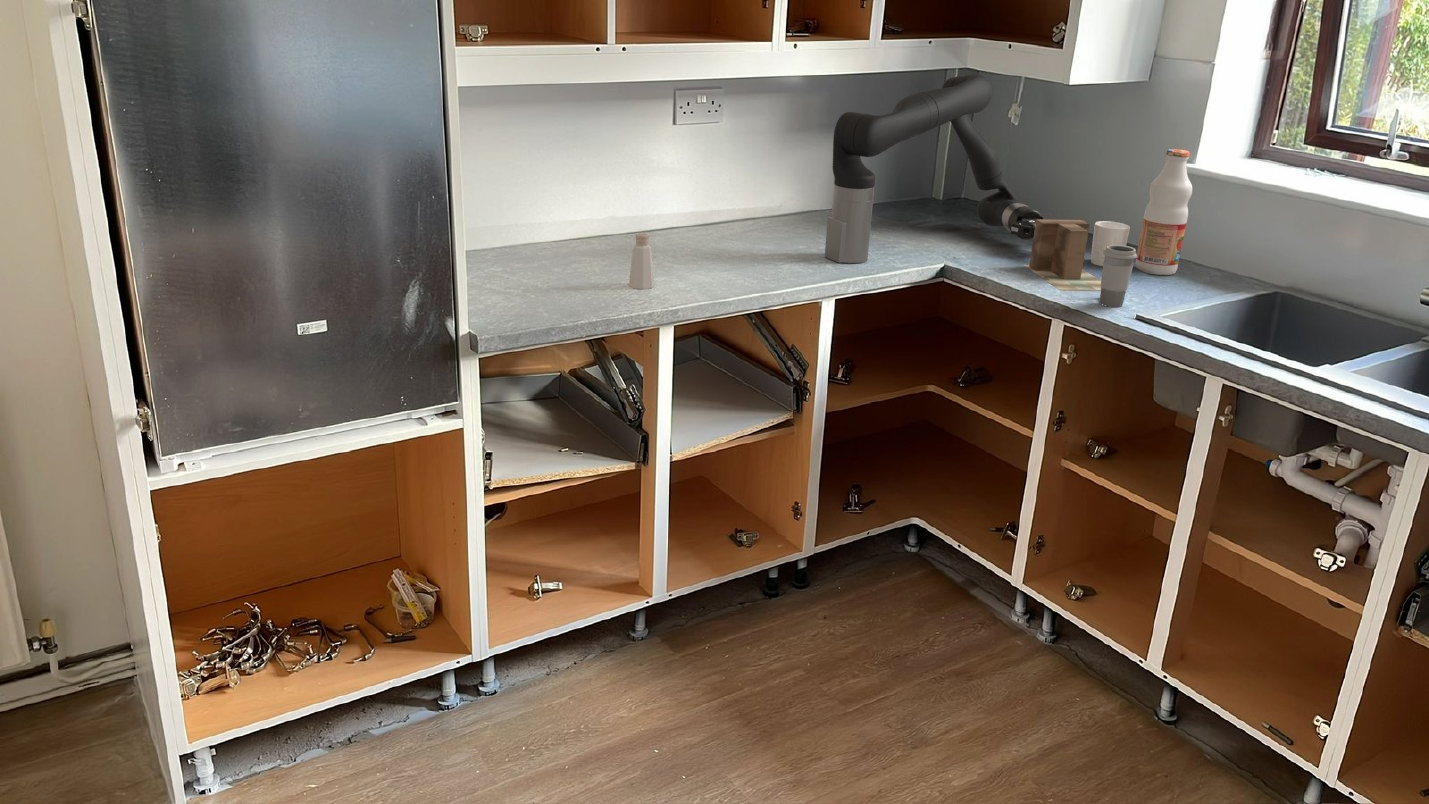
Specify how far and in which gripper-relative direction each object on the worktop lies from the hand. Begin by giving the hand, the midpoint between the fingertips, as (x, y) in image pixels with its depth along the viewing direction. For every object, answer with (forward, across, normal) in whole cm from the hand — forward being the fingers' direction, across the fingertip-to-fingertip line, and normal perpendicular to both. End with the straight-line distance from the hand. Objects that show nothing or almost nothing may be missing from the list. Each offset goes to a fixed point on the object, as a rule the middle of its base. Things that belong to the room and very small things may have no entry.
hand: (1050, 237), depth 255 cm
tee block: (+8, 0, +6) cm, 10 cm away
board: (+12, 0, +7) cm, 14 cm away
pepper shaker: (+17, -96, +7) cm, 98 cm away
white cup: (-1, +15, +7) cm, 17 cm away
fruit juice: (+3, +26, +7) cm, 27 cm away
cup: (+30, +2, +7) cm, 31 cm away
